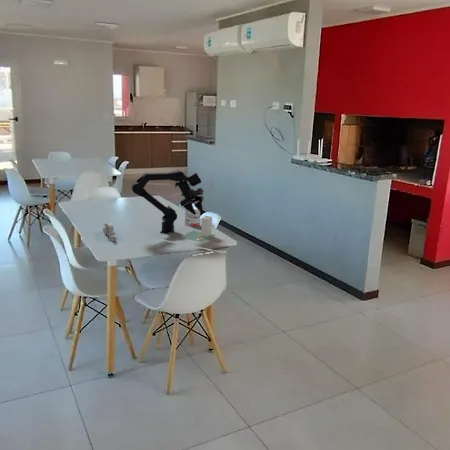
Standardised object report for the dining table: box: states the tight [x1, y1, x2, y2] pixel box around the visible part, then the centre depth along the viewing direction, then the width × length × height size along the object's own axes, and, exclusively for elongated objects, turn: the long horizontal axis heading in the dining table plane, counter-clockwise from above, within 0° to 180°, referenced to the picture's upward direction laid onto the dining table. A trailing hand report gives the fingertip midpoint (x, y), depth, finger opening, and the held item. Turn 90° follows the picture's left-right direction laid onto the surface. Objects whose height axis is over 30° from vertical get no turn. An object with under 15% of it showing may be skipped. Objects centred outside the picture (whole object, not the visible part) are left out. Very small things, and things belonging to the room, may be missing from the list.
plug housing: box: [200, 215, 213, 237], centre depth 270 cm, size 4×6×11 cm, turn 157°
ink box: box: [184, 206, 201, 227], centre depth 292 cm, size 8×5×12 cm, turn 55°
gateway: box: [102, 222, 117, 242], centre depth 260 cm, size 20×2×8 cm, turn 28°
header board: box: [179, 230, 216, 243], centre depth 269 cm, size 15×17×3 cm
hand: (198, 213), depth 269 cm, fingers open, 9 cm apart
